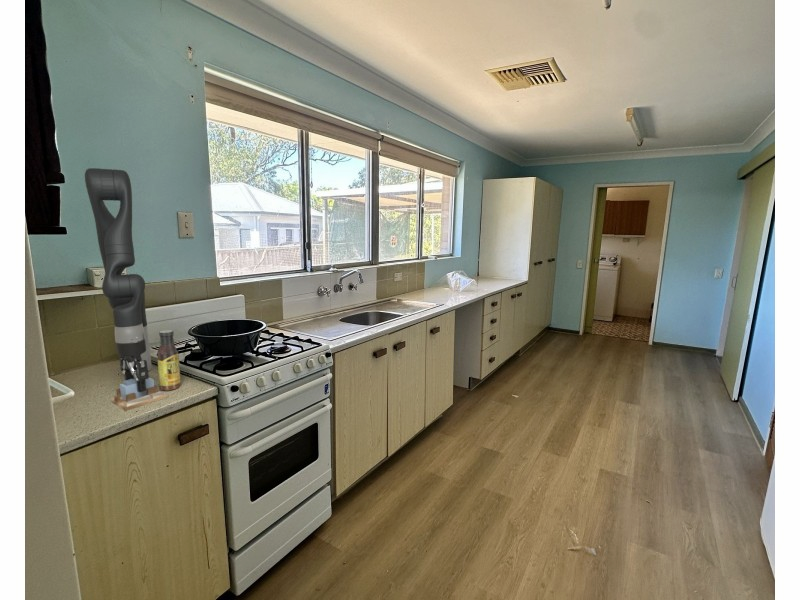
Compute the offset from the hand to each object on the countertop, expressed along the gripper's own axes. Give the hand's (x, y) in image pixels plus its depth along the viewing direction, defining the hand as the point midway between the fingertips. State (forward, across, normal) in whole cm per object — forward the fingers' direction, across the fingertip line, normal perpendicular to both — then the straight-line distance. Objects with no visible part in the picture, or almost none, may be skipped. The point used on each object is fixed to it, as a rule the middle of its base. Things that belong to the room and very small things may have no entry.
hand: (136, 387), depth 123 cm
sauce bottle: (+4, 0, +10) cm, 11 cm away
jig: (+4, 0, 0) cm, 4 cm away
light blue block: (+3, 0, 0) cm, 3 cm away
